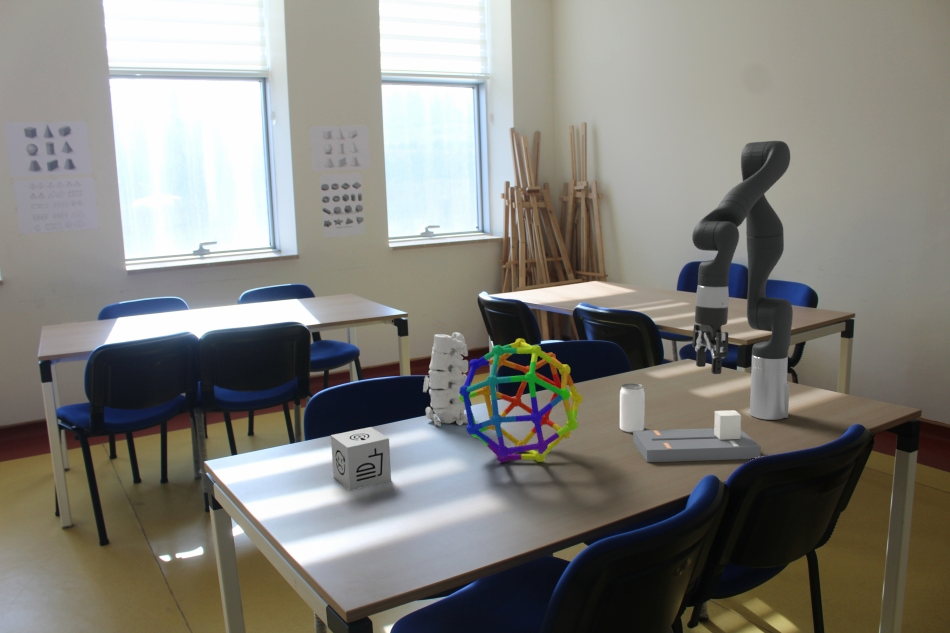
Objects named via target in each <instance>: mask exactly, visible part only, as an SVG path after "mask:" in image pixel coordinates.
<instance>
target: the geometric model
mask: <svg viewBox="0 0 950 633" xmlns="http://www.w3.org/2000/svg"><path fill="white" fill-rule="evenodd" d="M513 354H519V355H521V354H522V355H524V354H526V355H528V354H531V360H530V364H529V365H526V366H524V365H520V364H518V363H515V362H512V361H509V360H507V359H508V358H509V357H510V356H512V355H513ZM538 357H540V358H541V360H539V361H538ZM492 358H493V359H492ZM546 364H549V366H550V371H551V375H552V378H553V380H551V379H550V378H548V377H546V376H544V375H542V374H540V373H539V372H537V370H538V369H539V368H541V367H544V366H545V365H546ZM468 366H469V368H470V369H469V370H468V374H467V375H466V376H467V379H466V381H465V384H464V385H463V386H462V387H460V391H459V393H460V395H459V399H460V401H461V402H464V405H465V409H466V410H465V412H466V413H465V414H467V420H468V423H467V426H466V432H467V433H468V434H469V435H471V436H472V437H473V438H478V439H479V440H480V441H481V442H482V443H483V444H484V445H485V446H486V447H487V448H488V449H489V450H490V451H492V453H494V455H495V456H497V457H496V460H497V461H498V462H499V463H500V464H503V463H507V462H508V461H520V460H521V461H522V460H523V461H526V460H527V461H531V460H532V461H534V460H535V461H536V462H537V463H543V462H544V461H545V460H546V455H548V454H549V453H550V452H551V451H552V450H553V449H554V448H555V447H556V446H557V445H558V444H559V443H561V441H562V440H564V439H569V437H571V435H572V431H576V430H577V428H579V422H578V421H577V417H578V412H579V406H580V404H582V403H583V400H584V397H583V396H582V394H581V393H578V390H577V388H576V386H575V384H574V383H575V382H574V381H573V378H572V377H571V375H570V373H571V367H570V366H569V364H563V363H562V362H560V361H559V360H558V359H557V358H556V354H555V353H553V352H545V351H543V350H542V348H541V346H540V345H539V344H535V345H531V344H529V343H527V342H526V339H524V338H516V339H515V342H512V343H510V344H506V345H503V346H502V345H501V344H497V345H494V346H493V347H492V350H491V351H489V352H488V353H486V354H485V355H483V356H481V357H480V358H479V359H477V358H475V359H474V358H473V359H470V361H469V362H468ZM484 366H485V367H486V366H491V370H490V374H489V375H487V377H486V380H484V381H483V380H482V381H480V382H478V383H475V384H473V380H474V377H475V374H476V371H477V370H478V369H480V367H484ZM502 366H505V367H508V368H511V369H514V370H517V371H521V372H523V373H524V375H514V376H513V375H511V376H497V373H498V371H499V369H500V368H501V367H502ZM557 370H558V371H559V373H558V371H557ZM559 374H560V375H561V379H560V377H559ZM517 382H518V383H519V382H521V384H520V386H519V388H518V390H517V393H516V394H515V396H509V395H507V394H504V393H501V392H499V391H497V385H498V384H507V383H517ZM527 383H528V389H529V396H530V403H531V407H530V406H528V405H526V404H525V403H523V402H522V399H521V398H522V396H523V394H524V390H525V388H526V386H527ZM536 384H537V385H538V386H541V387H543V388H545V389H547V391H550V392H552V393H553V395H552V397H551V398H550V401H549V402H548V403H547V404H546V405H545V406H543V407H542V408H540V410H539V404H538V399H537V398H538V397H537V391H536ZM568 388H569V389H568ZM481 395H482V396H484V401H485V405H486V409H487V414H488V420H484V421H482V422H479V423H477V421H476V419H475V416H474V413H473V410H472V405H471V401H470V400H471V399H472V398H475V397H479V396H481ZM569 398H570V399H571V401H572V406H571V403H570V400H569ZM498 399H501V400H504V401H506V402H508V403H509V405H508V406H506V408H505V409H503V411H501V413H500V414H499V412H500V411H499V406H498V405H499V404H498ZM561 401H562V403H563V406H564V410H565V413H566V418H567V419H566V422H565V425H564V426H563V427H562V426H561V425H559V424H557V423H555V422H554V421H552V420H550V417H549V416H550V414H551V413H552V410H553V408H555V407H556V405H558V404H559V403H560V402H561ZM516 407H519V408H521V409H522V410H524V411H526V412H527V413H529V414H524V415H521V414H520V415H510V416H509V413H511V411H513V409H514V408H516ZM519 422H531V423H532V424H534V427H533V428H532V429H531V430H530V431H529V432H528V433H527V435H526V436H525V437H524V438H523V440H522V439H521V440H519V439H518V438H516V437H515V436H513V435H512V433H510V432H508V431H507V430H506V429H504V428H503V427H502V426H501V424H502V423H519ZM544 425H545V426H546V425H547V426H549V427H551V428H552V429H554V430H555V431H556V432H554V433H553V434H552V435H550V436H548V437H547V438H546V439H544V435H543V429H542V428H543V426H544ZM489 430H491V431H492V430H493V431H495V434H496V438H497V441H498V442H496V441H494V440H493V439H492V438H491V437H489V436H488V435H486V434H485V433H484V432H486V431H489ZM535 435H536V437H537V442H535V443H529V444H528V442H530V441H531V439H533V437H534V436H535ZM504 438H506V439H507V440H509V441H510V442H511V443H512V444H514V445H515V446H512V447H510V446H509V447H507V445H505V441H504ZM522 452H526V453H522ZM518 453H519V454H518Z"/></svg>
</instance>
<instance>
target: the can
mask: <svg viewBox="0 0 950 633" xmlns="http://www.w3.org/2000/svg"><path fill="white" fill-rule="evenodd" d="M645 394H646V393H645V390H644V386H643V385H642V384H639V383H633V382H632V383H624V384H622V385H621V389H620V391H619V428H620V430H621V431H623V432H625V433H631V434H633V431H644V430H645V409H646V408H645V403H646V401H645V398H646V397H645V396H646V395H645Z"/></svg>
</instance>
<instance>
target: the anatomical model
mask: <svg viewBox="0 0 950 633" xmlns="http://www.w3.org/2000/svg"><path fill="white" fill-rule="evenodd" d="M431 349H432V351H431V358H430V364H429V366H428V368H429V370H428V374H429V375H425V376H424V378H423V380H424V382H423V386H422V387H423V388H422V392H423V393H427V391H428V393H429V396H430V406H427V407H426V408H425V415H426V418H427V419H428V420H430V421H432V422H433V423H434V426H438V427H441V426H442V424H452V423H454V422H456V424H457V425H458V426H462V425H463V424H468V420H467V414H466V413H465V411H466V409H465V405H464V402H461V401H460V399H459V395H460V393H459V391H460V387H462V386H463V385H464V384H465V381H466V379H467V376H468V375H466V373H467V372H469V360H467V359H464V357H469V351H468V350H469V349H468V344H467V343H466V337H464V334H463V333H462V334H461V332H457V331H455V332H453V333H452V334H451V335H449V334H442V333H438V334H436V333H435V334H434V335H433V346H432V348H431ZM463 356H464V357H463ZM463 359H464V360H463ZM428 376H429V377H428ZM438 418H439V419H438Z"/></svg>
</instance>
